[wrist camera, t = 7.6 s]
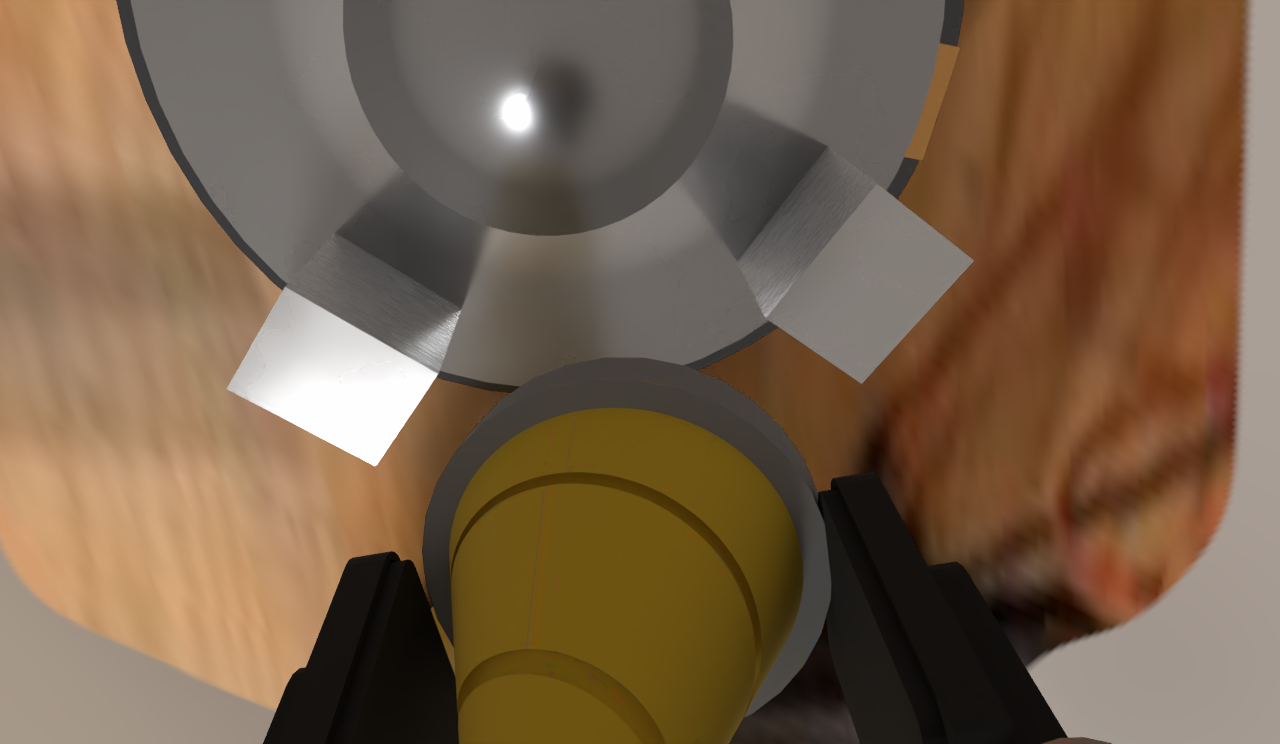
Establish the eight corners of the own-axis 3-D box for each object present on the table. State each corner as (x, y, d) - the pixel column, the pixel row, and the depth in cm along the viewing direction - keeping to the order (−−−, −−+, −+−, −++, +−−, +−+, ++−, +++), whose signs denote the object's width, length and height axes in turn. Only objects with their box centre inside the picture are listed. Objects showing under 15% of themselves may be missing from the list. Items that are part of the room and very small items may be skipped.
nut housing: (939, 310, 22) (965, 336, 21) (306, 418, 22) (287, 451, 21) (940, -594, 14) (981, -659, 13) (-20, -409, 15) (-89, -451, 13)
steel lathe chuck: (926, 307, 20) (1009, 392, 16) (311, 413, 20) (245, 521, 16) (921, -561, 13) (1061, -781, 9) (-1, -385, 14) (-240, -525, 10)
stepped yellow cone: (673, 645, 15) (584, 1496, 6) (440, 474, 15) (-68, 1114, 5) (873, 442, 14) (1182, 1163, 4) (621, 240, 13) (348, 572, 4)
